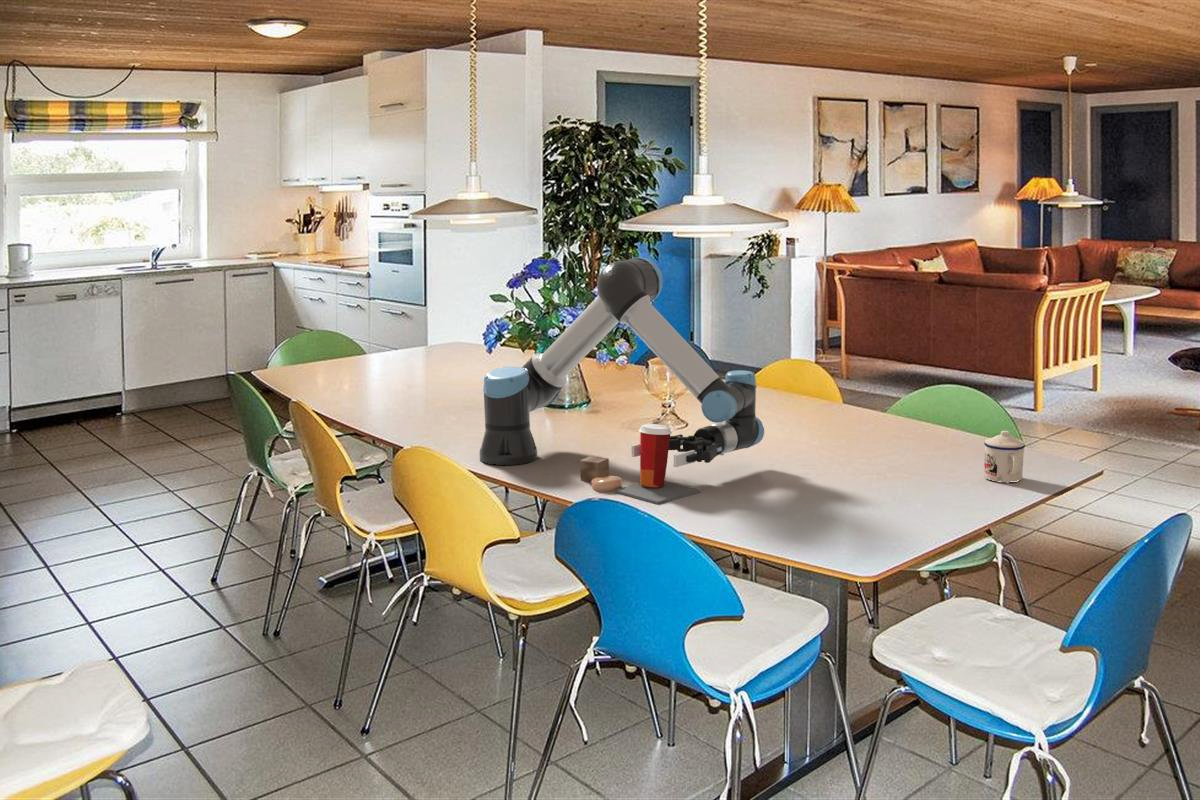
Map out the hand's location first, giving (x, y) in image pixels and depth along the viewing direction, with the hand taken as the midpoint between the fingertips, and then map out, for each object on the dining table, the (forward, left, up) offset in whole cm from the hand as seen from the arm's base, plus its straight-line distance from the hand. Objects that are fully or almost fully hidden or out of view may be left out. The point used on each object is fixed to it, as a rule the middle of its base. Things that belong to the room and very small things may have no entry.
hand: (653, 456), depth 259 cm
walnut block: (-19, -1, -9) cm, 21 cm away
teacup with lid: (+53, +65, -9) cm, 84 cm away
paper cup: (-3, +2, -8) cm, 9 cm away
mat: (0, +1, -9) cm, 9 cm away
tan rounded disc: (-11, -4, -9) cm, 15 cm away
